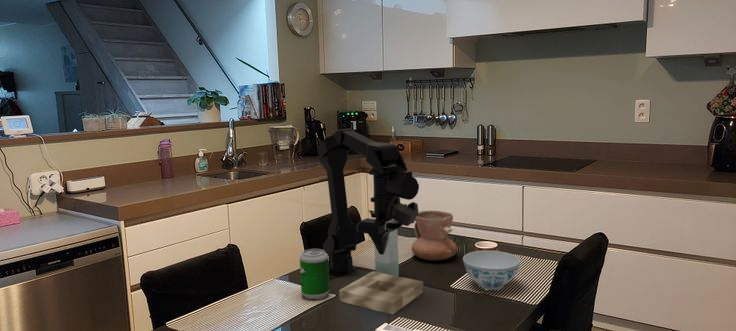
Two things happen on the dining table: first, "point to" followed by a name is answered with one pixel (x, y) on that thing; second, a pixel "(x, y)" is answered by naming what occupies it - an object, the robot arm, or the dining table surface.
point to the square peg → (389, 247)
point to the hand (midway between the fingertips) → (386, 251)
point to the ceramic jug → (433, 236)
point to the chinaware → (491, 268)
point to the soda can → (314, 274)
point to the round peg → (387, 267)
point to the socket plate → (381, 292)
